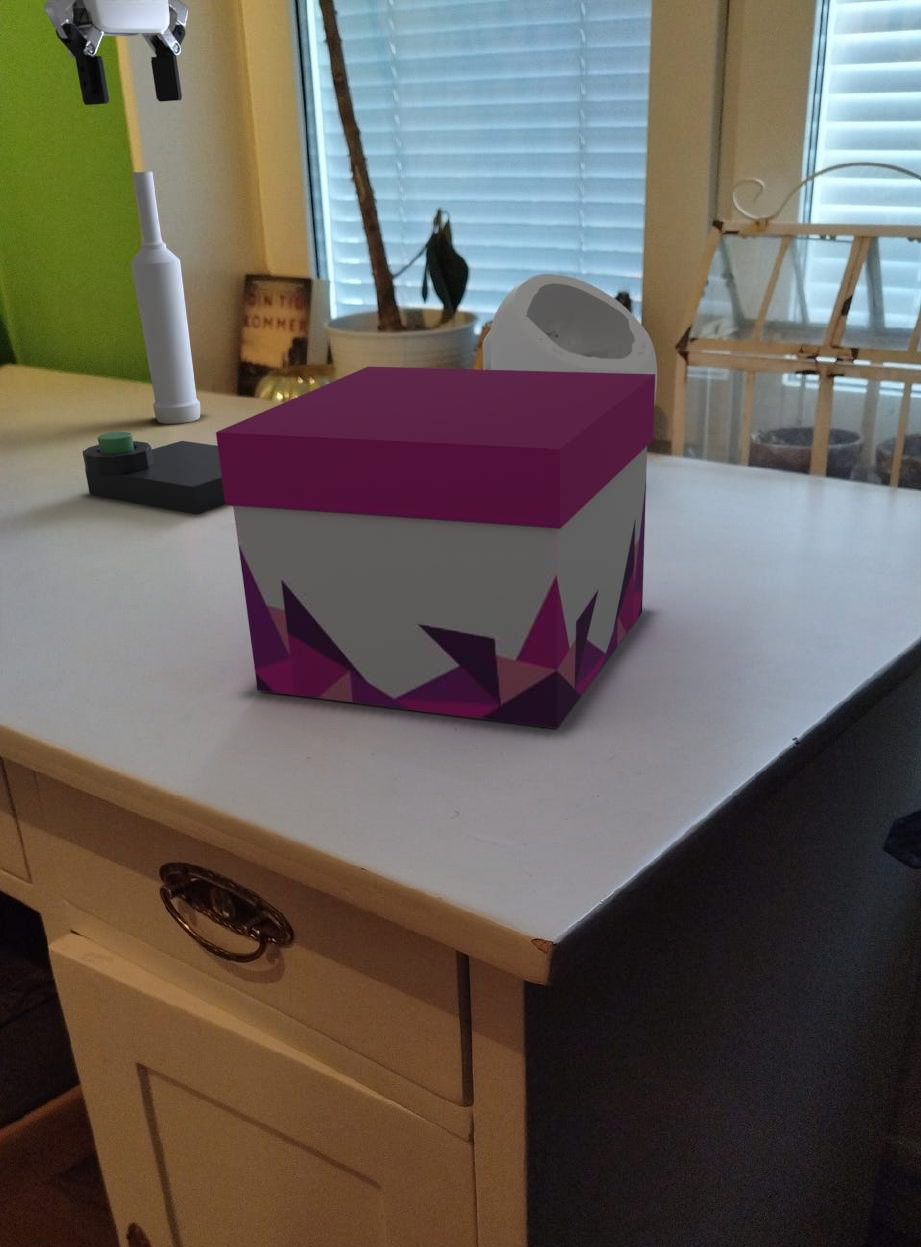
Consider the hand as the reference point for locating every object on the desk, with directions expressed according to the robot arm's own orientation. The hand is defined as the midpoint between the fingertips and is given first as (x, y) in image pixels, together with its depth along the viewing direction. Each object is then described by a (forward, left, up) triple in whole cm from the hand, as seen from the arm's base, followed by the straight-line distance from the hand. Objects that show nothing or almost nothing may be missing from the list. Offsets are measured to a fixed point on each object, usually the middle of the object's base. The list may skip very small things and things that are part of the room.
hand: (134, 102), depth 128 cm
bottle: (0, 0, -32) cm, 32 cm away
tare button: (+19, -25, -28) cm, 42 cm away
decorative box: (+69, -41, -32) cm, 86 cm away
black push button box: (+24, -21, -31) cm, 45 cm away
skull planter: (+52, -2, -32) cm, 61 cm away
